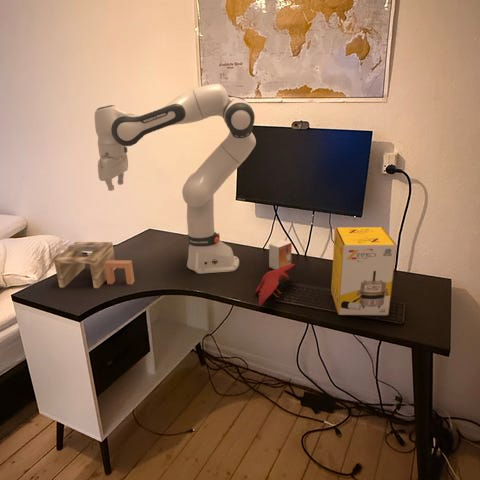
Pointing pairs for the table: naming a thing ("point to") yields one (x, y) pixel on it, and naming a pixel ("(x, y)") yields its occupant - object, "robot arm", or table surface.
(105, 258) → the wooden stand
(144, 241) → the table surface
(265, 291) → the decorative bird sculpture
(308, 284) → the table surface
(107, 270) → the arch block
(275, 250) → the small box
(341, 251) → the packaging box
